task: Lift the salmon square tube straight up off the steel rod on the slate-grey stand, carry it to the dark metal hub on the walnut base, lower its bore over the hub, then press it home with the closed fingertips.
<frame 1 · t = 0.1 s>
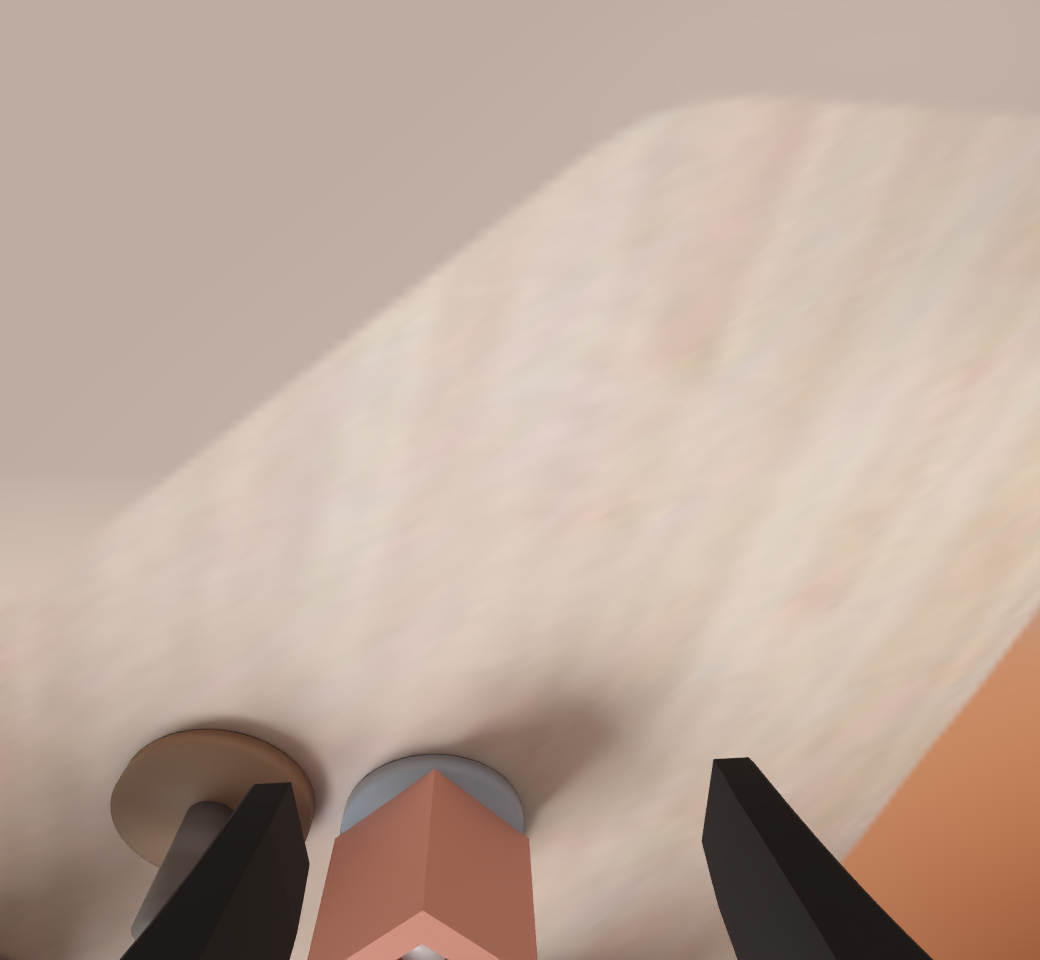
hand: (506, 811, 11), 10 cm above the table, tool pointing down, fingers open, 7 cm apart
hub: (220, 799, 24), on the table
stand: (434, 820, 25), on the table
salmon square tube: (433, 838, 25), point 1 cm above the table, touching stand
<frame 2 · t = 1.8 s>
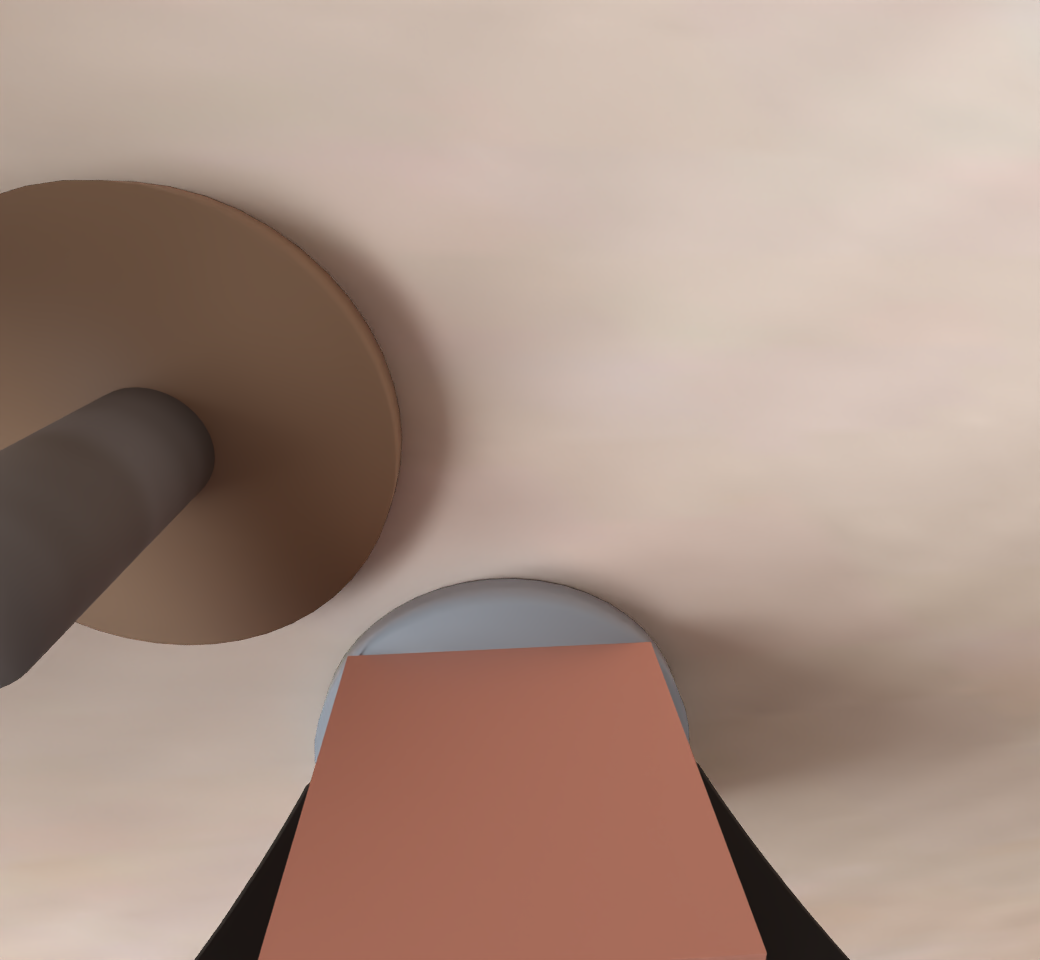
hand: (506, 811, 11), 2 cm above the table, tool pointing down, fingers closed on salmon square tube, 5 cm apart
hub: (174, 429, 10), on the table
stand: (503, 728, 13), on the table
salmon square tube: (504, 760, 12), point 1 cm above the table, touching gripper, stand
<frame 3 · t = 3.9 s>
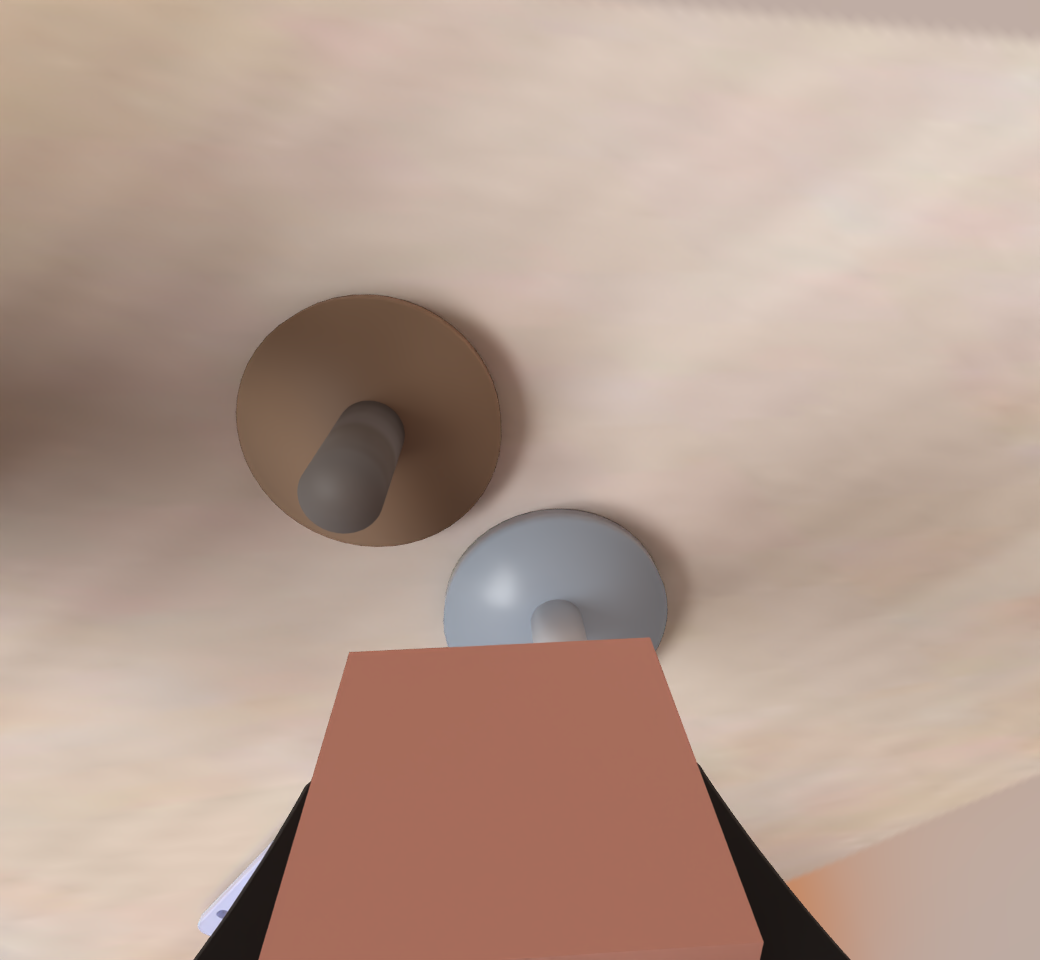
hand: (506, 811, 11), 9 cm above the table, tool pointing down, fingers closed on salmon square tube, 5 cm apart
hub: (375, 423, 18), on the table
stand: (553, 606, 21), on the table
salmon square tube: (505, 755, 12), point 8 cm above the table, touching gripper
when the fingers open (3 cm above the table, at t = 5.9 s): salmon square tube drops 1 cm, resting on hub.
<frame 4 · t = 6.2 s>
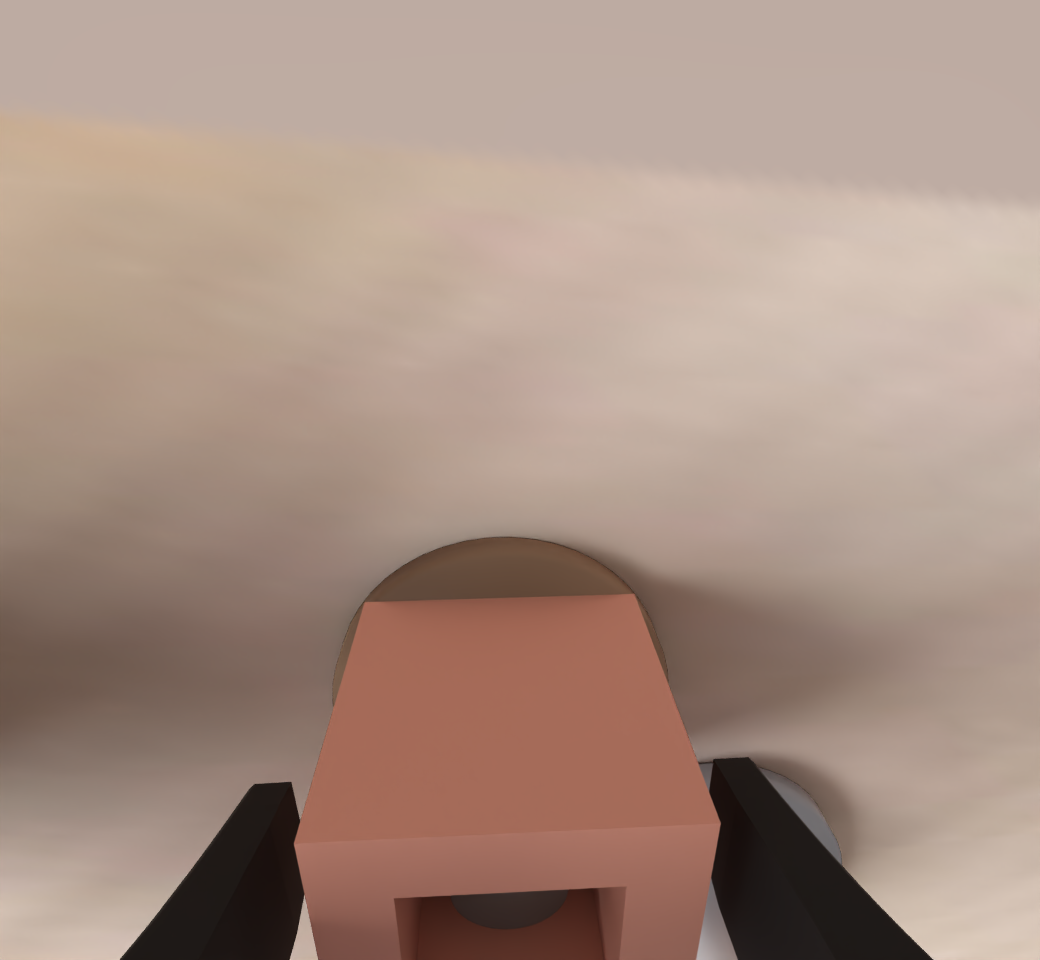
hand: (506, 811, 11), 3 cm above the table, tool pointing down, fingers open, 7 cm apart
hub: (501, 676, 14), on the table
stand: (695, 860, 17), on the table
salmon square tube: (502, 702, 13), point 1 cm above the table, touching hub
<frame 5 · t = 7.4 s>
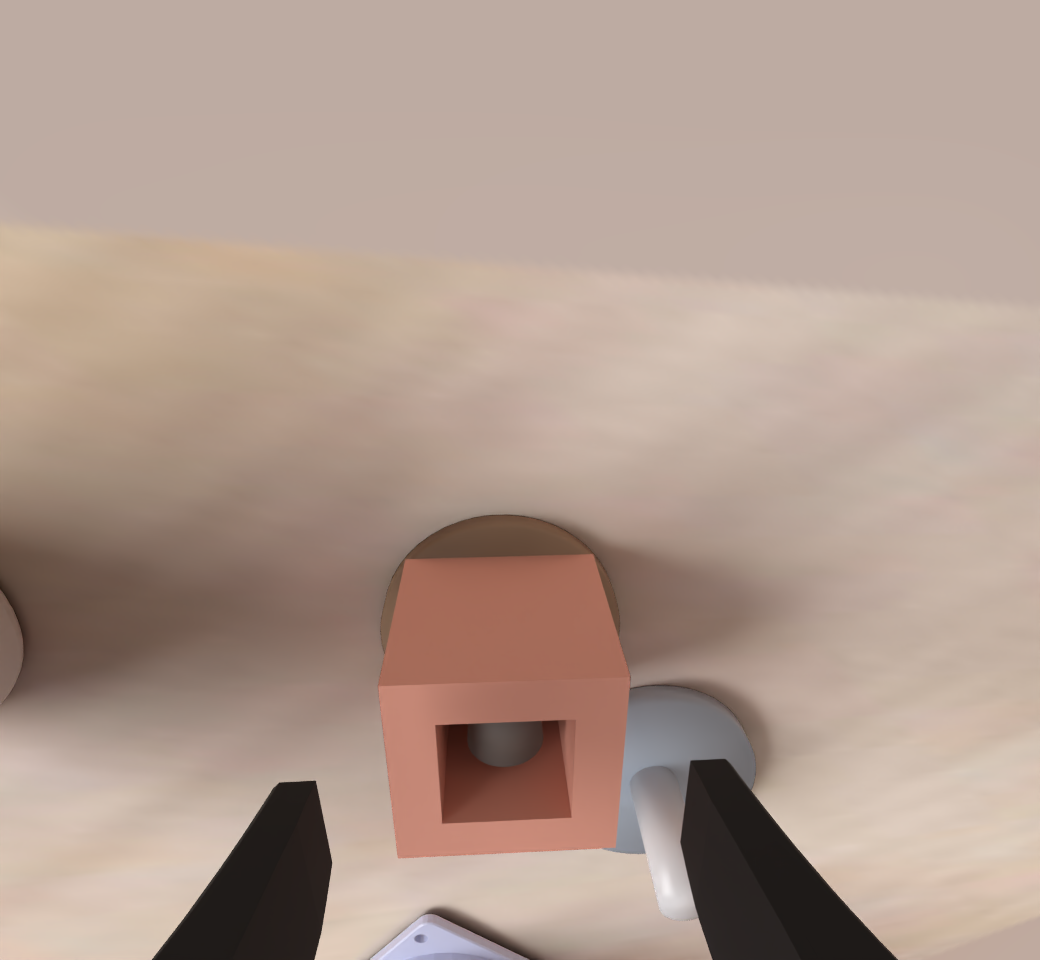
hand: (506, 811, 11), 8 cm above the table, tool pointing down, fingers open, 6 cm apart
hub: (500, 617, 20), on the table
stand: (647, 764, 22), on the table
salmon square tube: (501, 633, 19), point 1 cm above the table, touching hub
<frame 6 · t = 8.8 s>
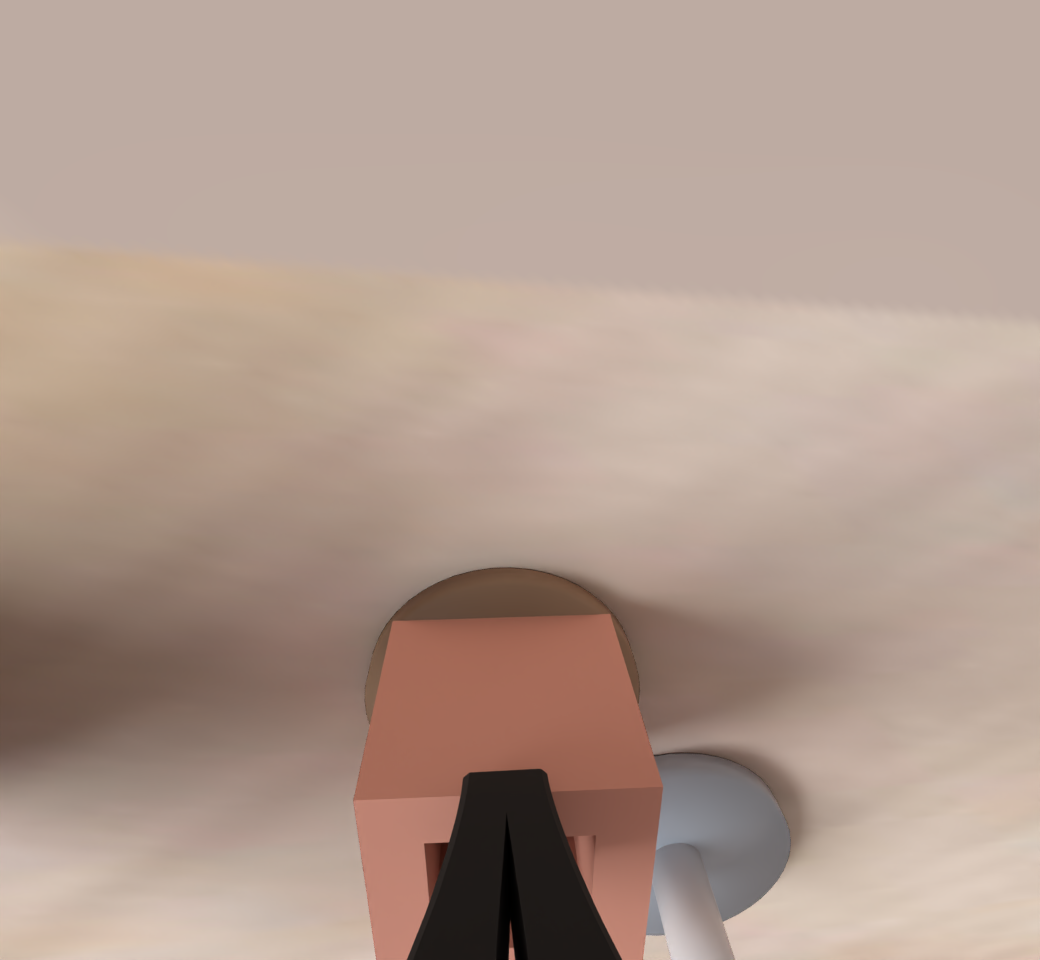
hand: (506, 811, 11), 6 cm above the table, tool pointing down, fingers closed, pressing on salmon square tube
hub: (502, 680, 17), on the table
stand: (667, 837, 20), on the table
salmon square tube: (503, 702, 16), point 1 cm above the table, touching gripper, hub
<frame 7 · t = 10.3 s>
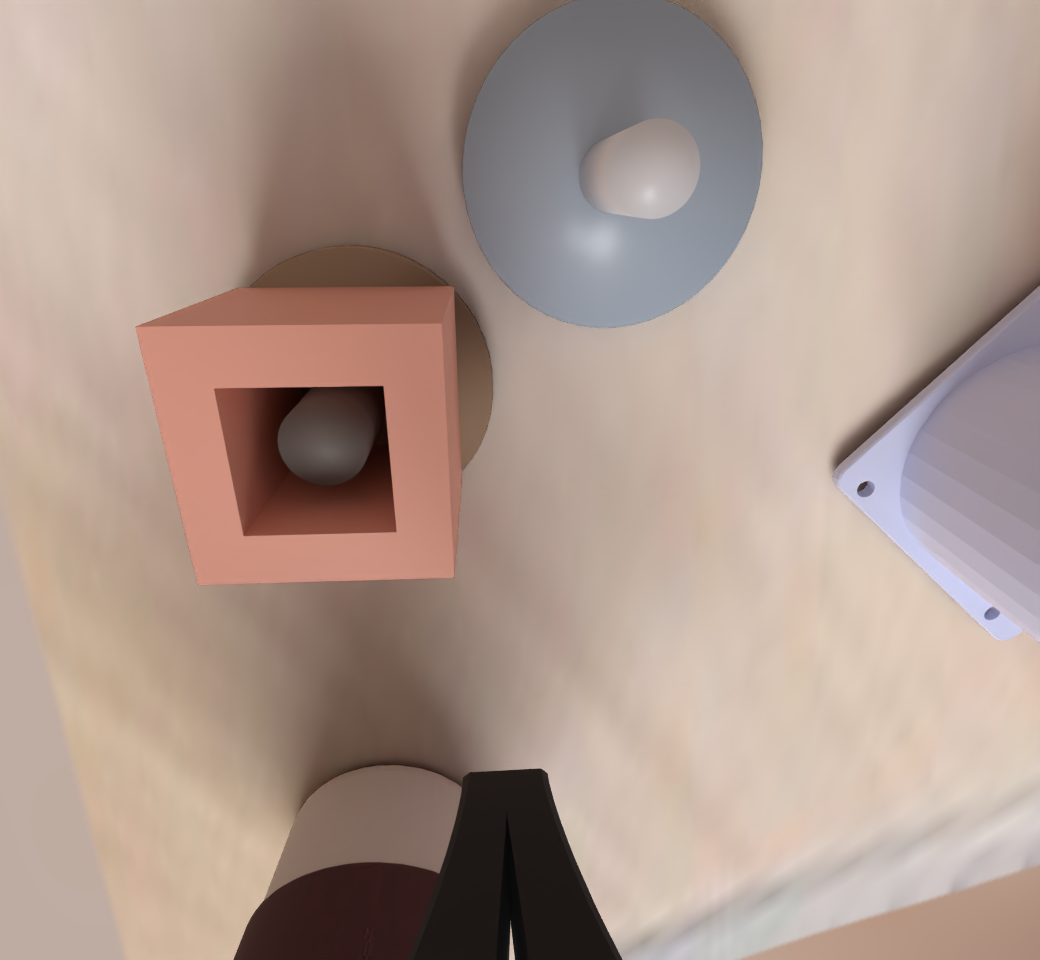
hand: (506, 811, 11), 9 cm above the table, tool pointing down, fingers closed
hub: (363, 382, 17), on the table
coffee cup: (394, 823, 25), on the table
stand: (607, 176, 16), on the table
salmon square tube: (357, 390, 17), point 1 cm above the table, touching hub
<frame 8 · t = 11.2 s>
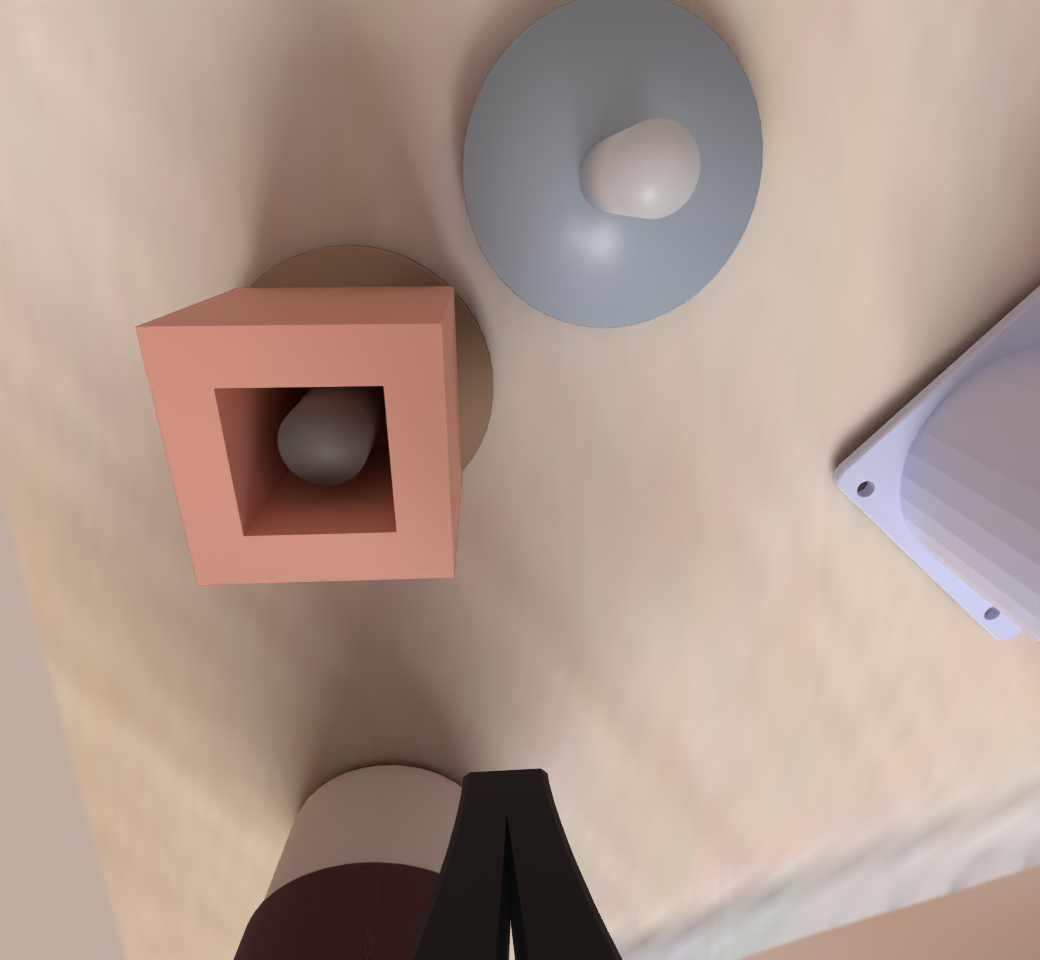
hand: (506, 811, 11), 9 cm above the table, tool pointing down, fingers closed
hub: (363, 382, 17), on the table
coffee cup: (394, 823, 25), on the table
stand: (607, 176, 16), on the table
salmon square tube: (357, 390, 17), point 1 cm above the table, touching hub
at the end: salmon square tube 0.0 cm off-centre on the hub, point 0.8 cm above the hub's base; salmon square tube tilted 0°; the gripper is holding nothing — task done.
